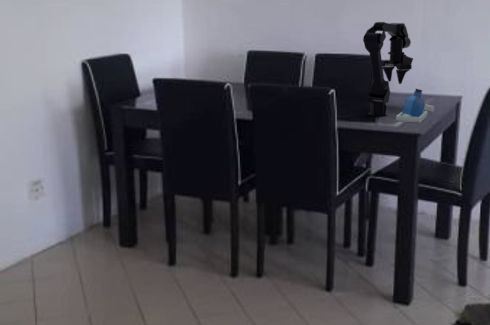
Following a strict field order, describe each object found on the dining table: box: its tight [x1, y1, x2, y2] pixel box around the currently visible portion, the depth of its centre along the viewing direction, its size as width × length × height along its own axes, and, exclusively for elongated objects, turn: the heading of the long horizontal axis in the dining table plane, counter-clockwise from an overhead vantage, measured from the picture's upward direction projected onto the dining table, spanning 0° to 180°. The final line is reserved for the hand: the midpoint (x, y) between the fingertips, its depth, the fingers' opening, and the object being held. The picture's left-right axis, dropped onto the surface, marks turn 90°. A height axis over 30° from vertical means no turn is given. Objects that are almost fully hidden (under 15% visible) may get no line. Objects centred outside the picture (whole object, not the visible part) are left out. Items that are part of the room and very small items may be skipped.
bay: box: [402, 103, 435, 113], centre depth 311 cm, size 11×9×2 cm
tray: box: [395, 110, 429, 124], centre depth 294 cm, size 16×11×2 cm, turn 154°
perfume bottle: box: [401, 88, 425, 117], centre depth 293 cm, size 6×6×12 cm
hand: (394, 82), depth 314 cm, fingers open, 9 cm apart
